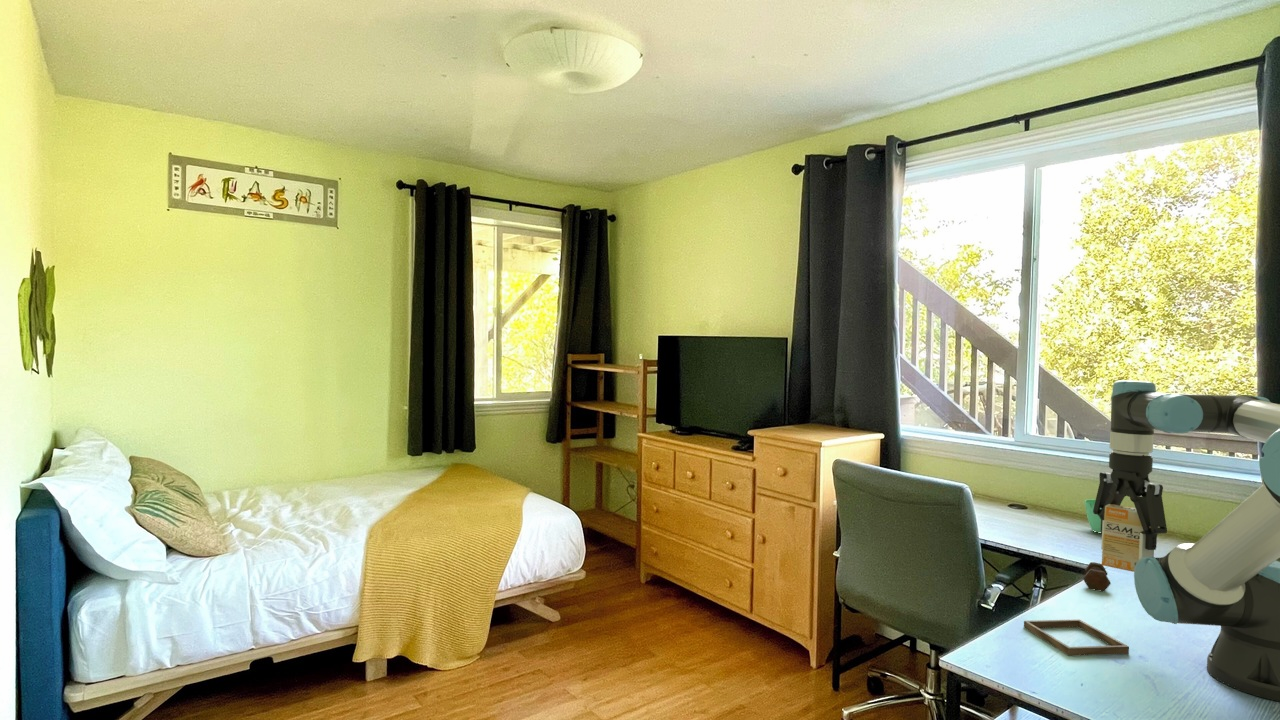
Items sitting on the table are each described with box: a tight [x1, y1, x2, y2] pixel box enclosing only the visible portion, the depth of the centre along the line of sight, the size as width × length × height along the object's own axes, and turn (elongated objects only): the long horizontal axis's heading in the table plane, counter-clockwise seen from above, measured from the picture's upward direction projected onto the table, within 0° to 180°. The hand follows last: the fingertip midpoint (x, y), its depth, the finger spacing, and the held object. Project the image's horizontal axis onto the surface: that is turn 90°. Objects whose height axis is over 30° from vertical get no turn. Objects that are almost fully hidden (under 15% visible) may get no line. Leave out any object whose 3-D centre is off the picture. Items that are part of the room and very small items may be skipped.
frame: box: [1023, 619, 1130, 657], centre depth 141 cm, size 13×13×2 cm
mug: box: [1084, 498, 1101, 532], centre depth 225 cm, size 15×10×10 cm
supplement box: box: [1101, 504, 1151, 573], centre depth 144 cm, size 8×5×13 cm, turn 45°
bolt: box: [1083, 561, 1111, 592], centre depth 177 cm, size 6×5×15 cm
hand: (1126, 556), depth 144 cm, fingers closed on supplement box, 9 cm apart
